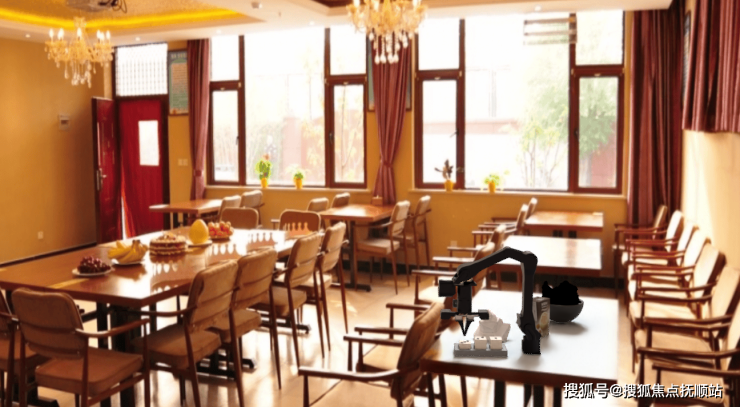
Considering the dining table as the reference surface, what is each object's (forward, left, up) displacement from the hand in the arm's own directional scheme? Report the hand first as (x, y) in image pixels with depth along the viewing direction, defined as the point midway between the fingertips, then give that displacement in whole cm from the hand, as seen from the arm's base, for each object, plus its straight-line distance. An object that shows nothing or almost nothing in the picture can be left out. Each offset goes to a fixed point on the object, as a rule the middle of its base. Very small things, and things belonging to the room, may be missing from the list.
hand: (464, 335), depth 262 cm
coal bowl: (-46, -46, -7) cm, 65 cm away
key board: (-6, 0, -7) cm, 9 cm away
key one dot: (-12, 0, -5) cm, 13 cm away
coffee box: (-32, -24, -7) cm, 40 cm away
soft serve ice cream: (-12, -18, -7) cm, 22 cm away
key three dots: (0, 0, -6) cm, 6 cm away
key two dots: (-6, 0, -5) cm, 8 cm away
